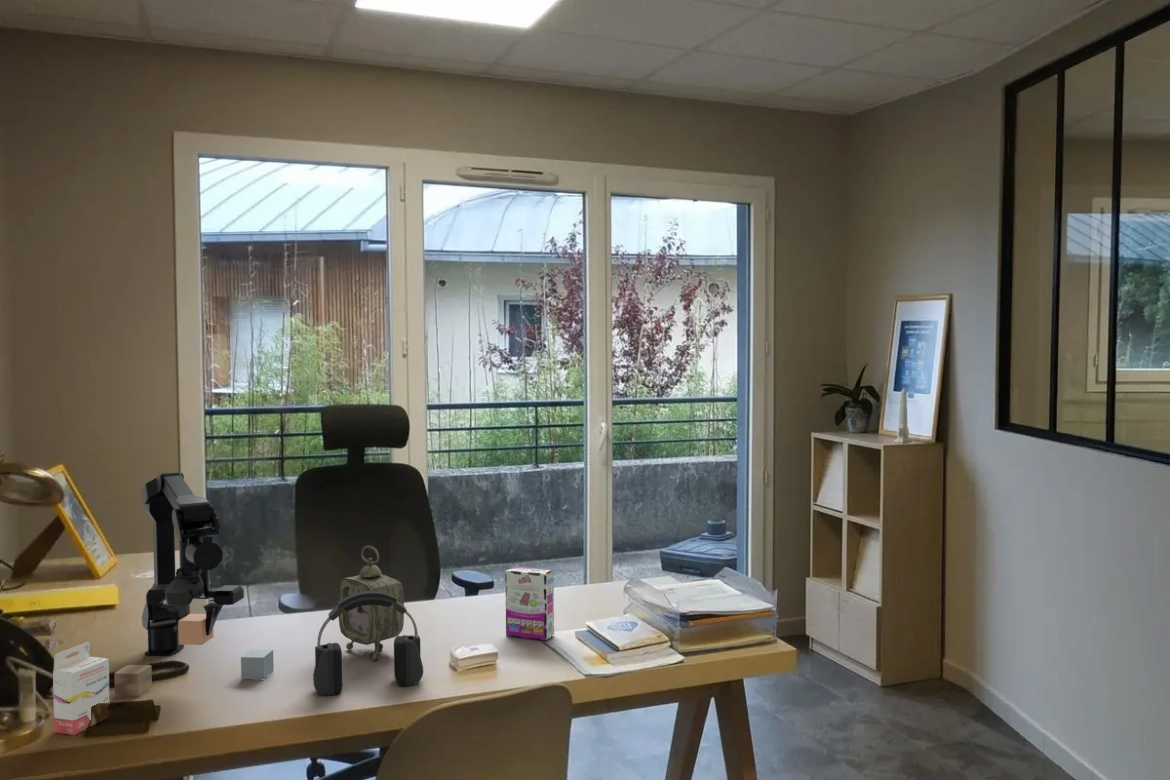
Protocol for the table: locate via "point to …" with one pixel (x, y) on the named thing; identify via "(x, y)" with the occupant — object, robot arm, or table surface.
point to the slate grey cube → (257, 664)
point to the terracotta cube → (193, 630)
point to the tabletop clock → (370, 607)
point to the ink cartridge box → (78, 688)
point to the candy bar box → (529, 603)
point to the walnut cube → (133, 680)
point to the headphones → (330, 654)
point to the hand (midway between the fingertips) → (196, 634)
